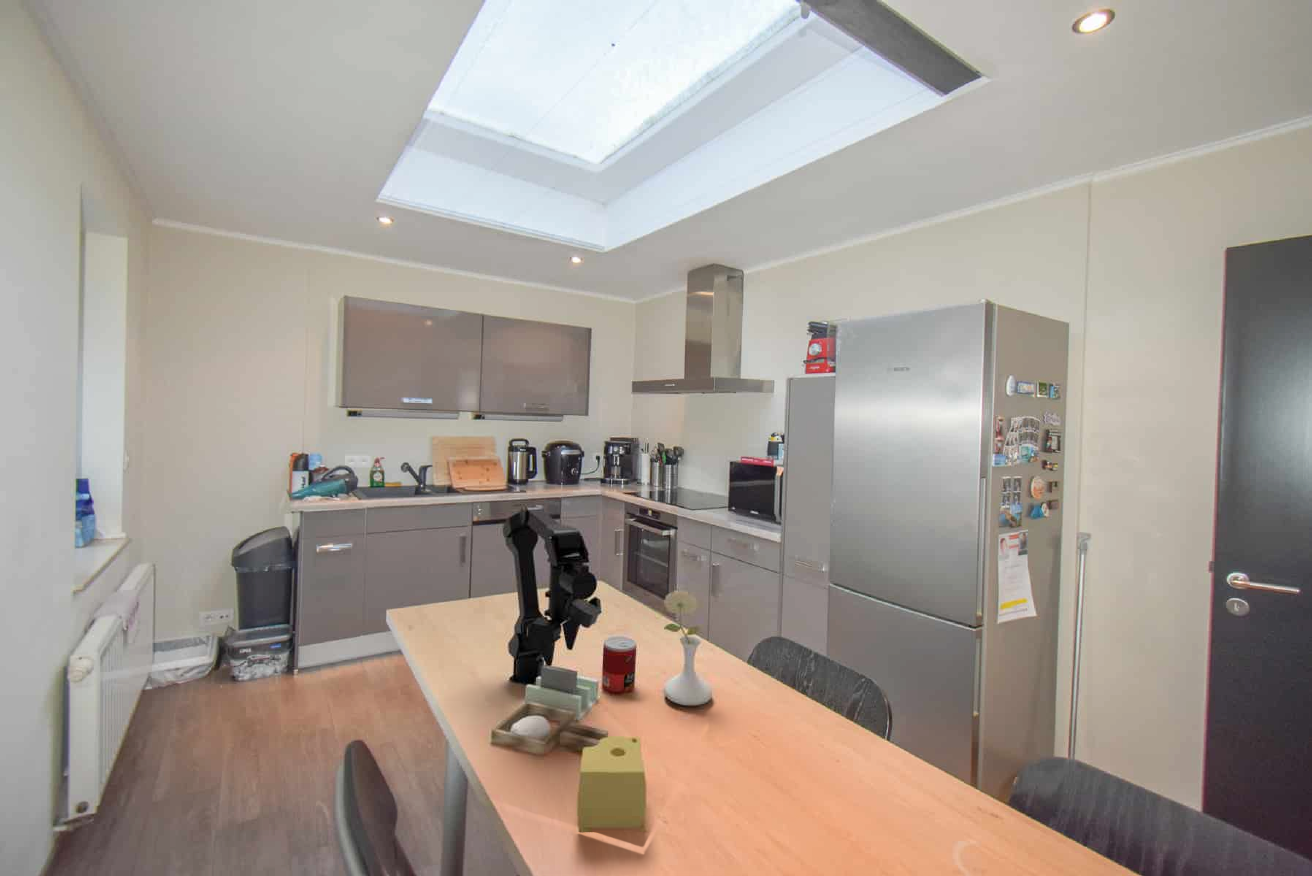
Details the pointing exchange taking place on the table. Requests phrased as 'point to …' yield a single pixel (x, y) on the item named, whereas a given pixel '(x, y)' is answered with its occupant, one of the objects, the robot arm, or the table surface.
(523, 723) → the garlic
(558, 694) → the dish rack
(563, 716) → the garlic trivet frame
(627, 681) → the canned food
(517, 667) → the robot arm
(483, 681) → the table surface
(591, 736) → the plate stand
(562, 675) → the plate
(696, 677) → the flower in vase
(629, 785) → the cheese
